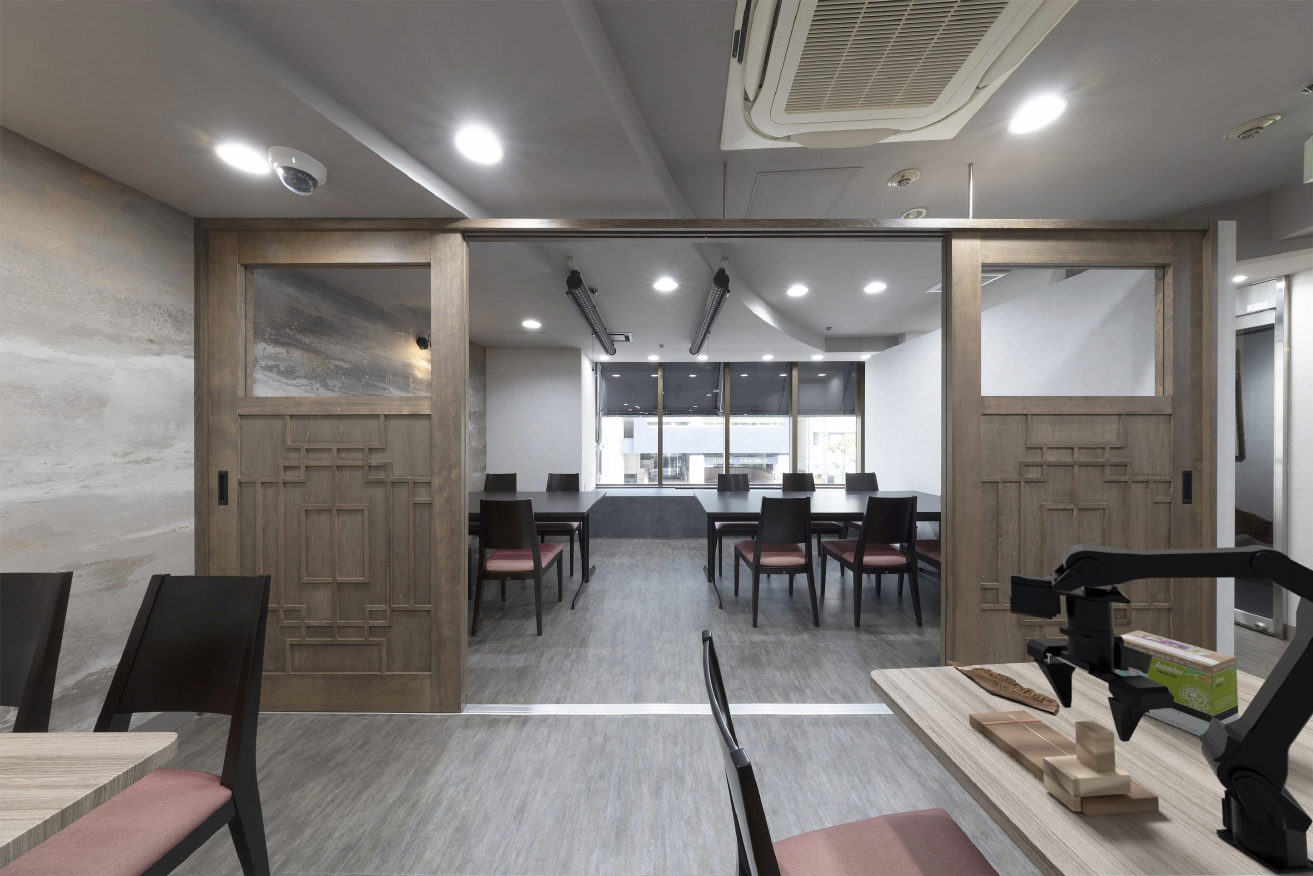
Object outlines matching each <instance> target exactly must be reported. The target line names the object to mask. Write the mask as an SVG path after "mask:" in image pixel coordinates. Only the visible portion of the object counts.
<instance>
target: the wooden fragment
mask: <svg viewBox="0 0 1313 876" xmlns="http://www.w3.org/2000/svg"><path fill="white" fill-rule="evenodd" d="M946 662H948V664H949V665H951V666H953V667H954V668H956V667H966V666H973V665H972V664H965V663H961V662H957V661H951V660H947V661H946ZM979 667H980V668H973V669H972V670H963V669H958V670H959V671H960V672H962V673H963V674H964V675H966V676H968V677H969V678H971V679H972V680H974V682H976V683H977V684H979V685H980V686H981V687H982V688H984V689H986V691H987V692H989V693H990V694H996V695H998V696H999V695H1000V696H1002V697H1005V698H1008V699H1012V700H1014V701H1017V702H1020V703H1023V704H1026V705H1029V706H1032V707H1034V708H1037V709H1040V710H1045V711H1049V712H1052V713H1053V715H1054V716H1055V715H1056V714H1057V713H1058V712H1059V711H1060V709H1059V707H1058V706H1059V701H1057V699H1055V698H1052V697H1049V696H1048V695H1046V694H1043V693H1037V691H1036V690H1034V689H1032V688H1030V687H1025V686H1023V685H1021V684H1020V683H1019V682H1017V680H1016V679H1015V678H1012V677H1010V676H1008V675H1005V674H1002V673H998V672H995V671H994V670H992V669H990V668H985V667H981V666H979Z"/></svg>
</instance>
